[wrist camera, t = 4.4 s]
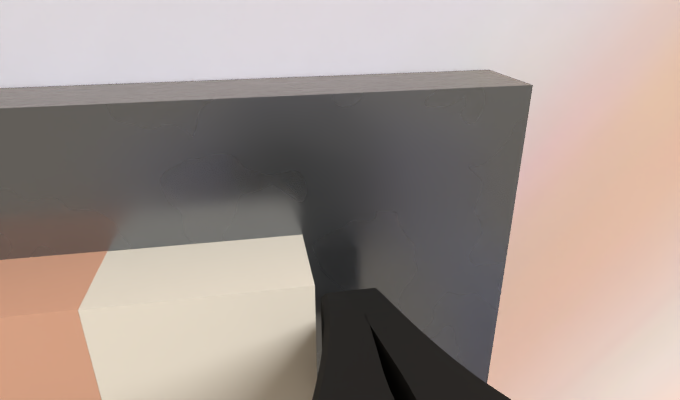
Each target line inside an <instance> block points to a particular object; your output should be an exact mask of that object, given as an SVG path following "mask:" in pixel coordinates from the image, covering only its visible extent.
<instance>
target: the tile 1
mask: <svg viewBox="0 0 680 400" xmlns="http://www.w3.org/2000/svg"><path fill="white" fill-rule="evenodd" d="M106 253H107V251H100V252H88V253H76V254H64V255H52V256H41V257H29V258H17V259H5V260H0V400H102V399H101V395H100V392H99V388H98V384H97V380H96V377H95V373H94V369H93V365H92V361H91V358H90V354H89V350H88V346H87V343H86V339H85V335H84V331H83V327H82V324H81V320H80V316H79V312H78V309H79V307H80V305H81V303H82V301H83V299H84V297H85V295H86V293H87V291H88V289H89V287H90V285H91V283H92V281H93V279H94V277H95V275H96V273H97V271H98V269H99V267H100V265H101V263H102V261H103V259H104V257H105V255H106Z"/></svg>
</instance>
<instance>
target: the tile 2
mask: <svg viewBox="0 0 680 400" xmlns="http://www.w3.org/2000/svg"><path fill="white" fill-rule="evenodd" d="M78 312H79V316H80V320H81V324H82V327H83V331H84V335H85V339H86V343H87V346H88V350H89V354H90V358H91V361H92V365H93V369H94V373H95V377H96V380H97V384H98V388H99V392H100V395H101V399H102V400H312V398H313V394H314V390H315V385H316V381H317V356H316V314H315V284H314V280H313V276H312V272H311V268H310V264H309V260H308V256H307V252H306V248H305V244H304V240H303V235H291V236H280V237H268V238H256V239H245V240H233V241H221V242H210V243H198V244H186V245H175V246H163V247H151V248H140V249H128V250H116V251H107V253H106V255H105V257H104V259H103V261H102V263H101V265H100V267H99V269H98V271H97V273H96V275H95V277H94V279H93V281H92V283H91V285H90V287H89V289H88V291H87V293H86V295H85V297H84V299H83V301H82V303H81V305H80V307H79V309H78Z"/></svg>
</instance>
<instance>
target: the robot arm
mask: <svg viewBox="0 0 680 400" xmlns="http://www.w3.org/2000/svg"><path fill="white" fill-rule="evenodd" d="M321 329H322V354H321V361H320V367H319V371H318V376H317V381H316V385H315V390H314V394H313V398H312V400H511V399H509V398H508V397H506V396H505V395H503V394H502V393H500V392H499V391H497V390H496V389H494V388H493V387H491V386H490V385H488V384H487V383H485V382H484V381H483V380H481V379H480V378H478V377H477V376H476V375H474V374H473V373H472V372H470V371H469V370H468V369H466V368H465V367H464V366H462V365H461V364H460V363H459V362H457V361H456V360H455V359H453V358H452V357H451V356H450V355H449V354H447V353H446V352H445V351H444V350H443V349H441V348H440V347H439V346H438V345H437V344H436V343H435V342H433V341H432V340H431V339H430V338H429V337H428V336H427V335H425V334H424V333H423V332H422V331H421V330H420V329H419V328H418V327H417V326H415V325H414V324H413V323H412V322H411V321H410V320H409V319H408V318H407V317H406V316H405V315H404V314H403V313H402V312H401V311H400V310H399V309H398V308H396V307H395V306H394V305H393V304H392V303H391V302H390V301H389V300H388V299H387V298H386V297H385V296H384V295H383V294H382V293H381V292H380V291H379V290H378V289H377V288H368V289H359V290H350V291H341V292H332V293H326V294H325V295H324V296H323V297H321Z"/></svg>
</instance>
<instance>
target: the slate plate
mask: <svg viewBox="0 0 680 400" xmlns="http://www.w3.org/2000/svg"><path fill="white" fill-rule="evenodd" d="M532 86H533V85H531V84H528V83H525V82H523V81H520V80H517V79H514V78H511V77H508V76H505V75H502V74H500V73H497V72H494V71H491V70H473V71H446V72H420V73H393V74H367V75H340V76H314V77H287V78H261V79H234V80H208V81H181V82H155V83H128V84H102V85H75V86H49V87H22V88H0V260H5V259H17V258H29V257H41V256H52V255H64V254H76V253H88V252H100V251H116V250H128V249H140V248H151V247H163V246H175V245H186V244H198V243H210V242H221V241H233V240H245V239H256V238H268V237H280V236H291V235H303V240H304V244H305V248H306V252H307V256H308V260H309V264H310V268H311V272H312V276H313V280H314V284H315V314H316V356H317V376H318V371H319V367H320V361H321V354H322V329H321V297H323V296H324V295H325V294H326V293H332V292H341V291H350V290H359V289H368V288H377V289H378V290H379V291H380V292H381V293H382V294H383V295H384V296H385V297H386V298H387V299H388V300H389V301H390V302H391V303H392V304H393V305H394V306H395V307H396V308H398V309H399V310H400V311H401V312H402V313H403V314H404V315H405V316H406V317H407V318H408V319H409V320H410V321H411V322H412V323H413V324H414V325H415V326H417V327H418V328H419V329H420V330H421V331H422V332H423V333H424V334H425V335H427V336H428V337H429V338H430V339H431V340H432V341H433V342H435V343H436V344H437V345H438V346H439V347H440V348H441V349H443V350H444V351H445V352H446V353H447V354H449V355H450V356H451V357H452V358H453V359H455V360H456V361H457V362H459V363H460V364H461V365H462V366H464V367H465V368H466V369H468V370H469V371H470V372H472V373H473V374H474V375H476V376H477V377H478V378H480V379H481V380H483V381H484V382H485V383H487V379H488V373H489V366H490V360H491V353H492V347H493V340H494V334H495V327H496V321H497V314H498V307H499V301H500V294H501V288H502V281H503V275H504V268H505V262H506V255H507V249H508V242H509V236H510V229H511V223H512V216H513V210H514V203H515V197H516V190H517V184H518V177H519V171H520V164H521V158H522V151H523V145H524V138H525V132H526V125H527V119H528V112H529V106H530V99H531V93H532Z"/></svg>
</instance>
